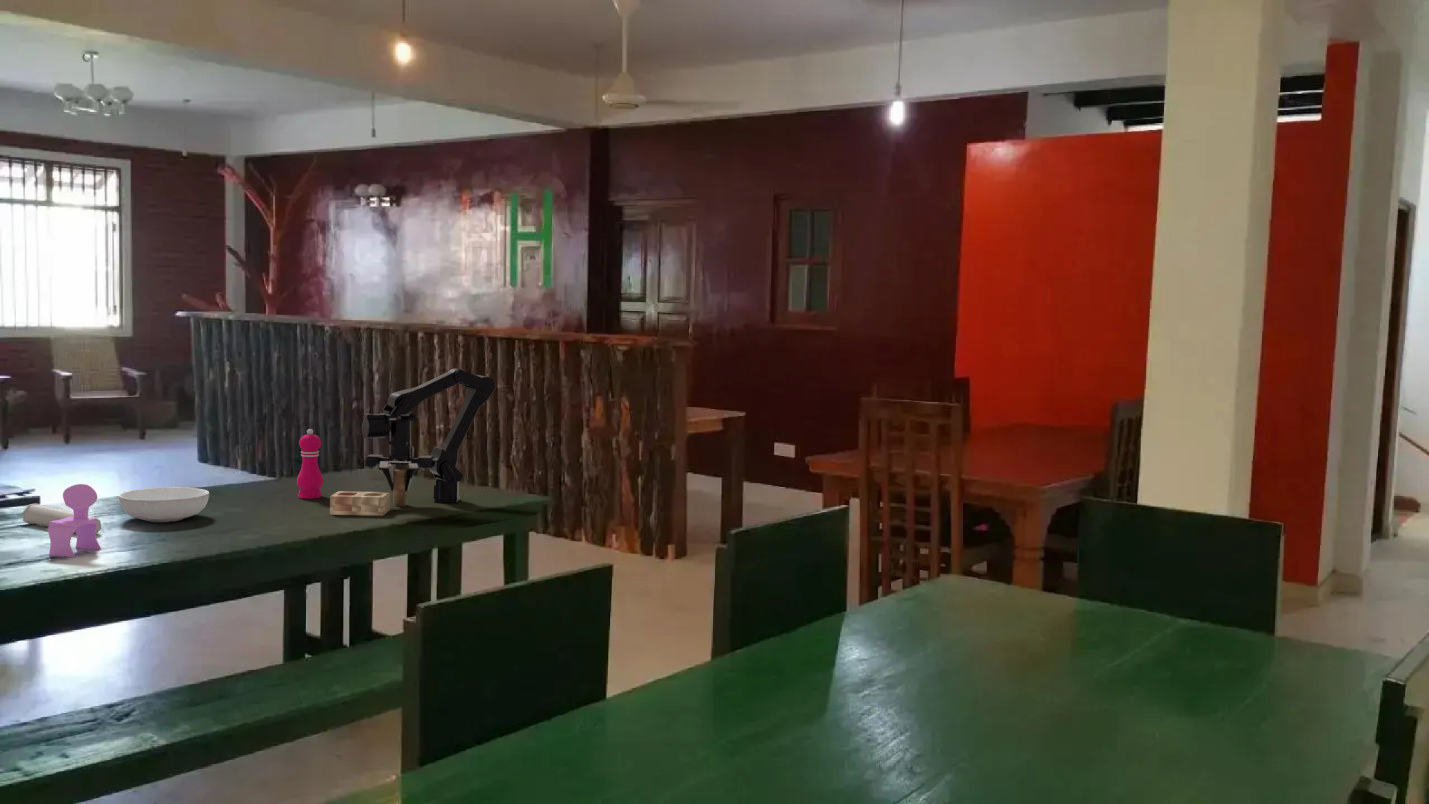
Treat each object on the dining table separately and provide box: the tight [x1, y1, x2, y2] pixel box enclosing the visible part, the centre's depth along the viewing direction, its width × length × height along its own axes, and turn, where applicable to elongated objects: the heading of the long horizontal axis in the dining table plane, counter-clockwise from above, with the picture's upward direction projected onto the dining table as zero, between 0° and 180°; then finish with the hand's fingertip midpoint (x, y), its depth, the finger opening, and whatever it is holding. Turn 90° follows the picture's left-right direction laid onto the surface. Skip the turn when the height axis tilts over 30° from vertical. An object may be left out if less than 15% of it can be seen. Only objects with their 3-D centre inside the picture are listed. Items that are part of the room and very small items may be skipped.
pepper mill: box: [296, 428, 324, 500], centre depth 318 cm, size 7×7×20 cm
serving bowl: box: [118, 487, 210, 523], centre depth 281 cm, size 21×21×7 cm
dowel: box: [392, 468, 407, 507], centre depth 310 cm, size 4×4×10 cm
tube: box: [22, 503, 102, 535], centre depth 265 cm, size 5×5×25 cm
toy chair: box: [47, 483, 102, 558], centre depth 242 cm, size 8×9×15 cm
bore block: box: [329, 490, 391, 517], centre depth 298 cm, size 14×8×5 cm, turn 94°
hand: (399, 491), depth 311 cm, fingers closed on dowel, 4 cm apart
